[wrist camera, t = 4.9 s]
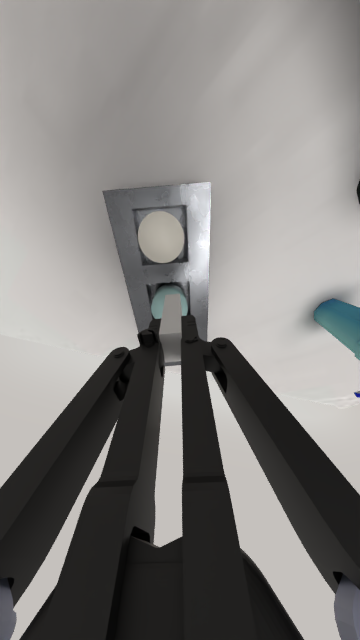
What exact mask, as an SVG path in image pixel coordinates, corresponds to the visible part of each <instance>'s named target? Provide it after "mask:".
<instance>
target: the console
mask: <svg viewBox="0 0 360 640" xmlns="http://www.w3.org/2000/svg"><path fill="white" fill-rule="evenodd" d="M103 195H104V199H105V203H106V207H107V211H108V215H109V218H110V222H111V226H112V230H113V234H114V238H115V242H116V246H117V250H118V254H119V258H120V261H121V265H122V269H123V273H124V277H125V281H126V285H127V289H128V293H129V297H130V301H131V305H132V308H133V312H134V316H135V320H136V324H137V328H138V332H141V331H142V330H145V329H148V327H149V324H150V322H151V321H152V320H153V319H155V318H154V316H153V315H152V312H151V306H152V302H153V298H154V295H155V292H156V291H157V289H158V288H160V287H161V286H163V285H166V284H173V285H176V286H178V287H180V288H181V289H182V290H183V291H184V293H185V296H186V301H187V307H188V311H187V315H193V316H194V317H195V319H196V325H197V330H198V335H199V338H200V339H202V340H204V341H207V325H208V286H209V248H210V209H211V182H204V183H192V184H180V185H168V186H156V187H144V188H132V189H120V190H108V191H103ZM156 211H163V212H167V213H169V214H171V215H173V216H174V217H175V218H176V219H177V220H178V221H179V223H180V224H181V226H182V229H183V232H184V245H183V248H182V251H181V253H180V254H179V255H178V256H177V258H175V259H174V260H172V261H170V262H167V263H157V262H154V261H152V260H150V259H149V258H148V257H147V256H146V255H145V254H144V253H143V252H142V250H141V248H140V245H139V242H138V229H139V226H140V224H141V222H142V220H143V219H144V218H145V217H146V216H147V215H148V214H150V213H152V212H156ZM173 365H181V361H177V362H166V363H165V359H164V366H173Z"/></svg>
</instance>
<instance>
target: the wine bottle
mask: <svg viewBox="0 0 360 640" xmlns="http://www.w3.org/2000/svg"><path fill="white" fill-rule="evenodd" d="M357 194H358V198H359V203H360V181H359V184H358V188H357Z"/></svg>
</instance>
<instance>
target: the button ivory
mask: <svg viewBox="0 0 360 640" xmlns="http://www.w3.org/2000/svg"><path fill="white" fill-rule="evenodd" d="M138 242H139V245H140V248H141V250H142V252H143V253H144V254H145V255H146V256H147V257H148V258H149V259H150V260H152V261H154V262H157V263H167V262H170V261H172V260H174V259H175V258H177V256H178V255H179V254H180V253H181V251H182V248H183V245H184V232H183V229H182V226H181V224H180V223H179V221H178V220H177V219H176V218H175V217H174V216H173V215H171V214H169V213H167V212H163V211H156V212H152V213H150V214H148V215H147V216H146V217H145V218H144V219H143V220H142V222H141V224H140V226H139V229H138Z"/></svg>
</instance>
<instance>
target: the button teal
mask: <svg viewBox="0 0 360 640" xmlns="http://www.w3.org/2000/svg"><path fill="white" fill-rule="evenodd" d="M179 293H180V299H181V307H182V316H186V315H187V311H188V307H187V301H186V296H185V293H184V291H183V290H182V289H181V288H180V287H178V286H176V285H173V284H166V285H163V286H161V287H160V288H158V289H157V291H156V292H155V295H154V298H153V302H152V306H151V312H152V315H153V316H154V318H155V319H160V318H162V312H163V306H164V300H165V295H170V294H179Z"/></svg>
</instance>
